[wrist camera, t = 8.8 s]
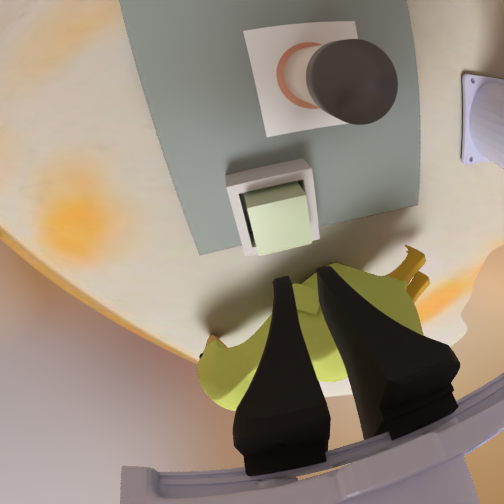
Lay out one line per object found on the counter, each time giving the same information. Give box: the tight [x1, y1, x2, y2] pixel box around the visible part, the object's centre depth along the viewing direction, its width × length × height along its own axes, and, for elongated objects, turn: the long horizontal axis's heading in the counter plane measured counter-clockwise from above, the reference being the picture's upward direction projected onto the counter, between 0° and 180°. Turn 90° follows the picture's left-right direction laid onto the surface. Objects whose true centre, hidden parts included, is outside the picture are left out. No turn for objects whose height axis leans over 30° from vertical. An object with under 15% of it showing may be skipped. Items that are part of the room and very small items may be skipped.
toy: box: [197, 245, 430, 411], centre depth 22 cm, size 6×17×20 cm
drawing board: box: [119, 0, 420, 257], centre depth 15 cm, size 18×23×2 cm
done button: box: [244, 181, 312, 256], centre depth 19 cm, size 3×3×2 cm
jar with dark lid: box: [283, 39, 398, 125], centre depth 13 cm, size 4×4×7 cm
